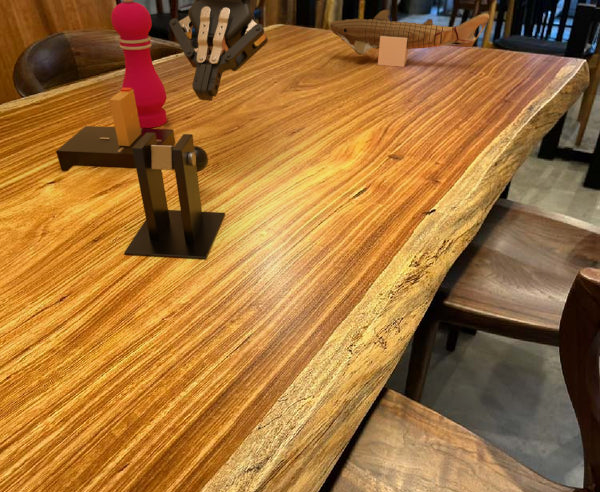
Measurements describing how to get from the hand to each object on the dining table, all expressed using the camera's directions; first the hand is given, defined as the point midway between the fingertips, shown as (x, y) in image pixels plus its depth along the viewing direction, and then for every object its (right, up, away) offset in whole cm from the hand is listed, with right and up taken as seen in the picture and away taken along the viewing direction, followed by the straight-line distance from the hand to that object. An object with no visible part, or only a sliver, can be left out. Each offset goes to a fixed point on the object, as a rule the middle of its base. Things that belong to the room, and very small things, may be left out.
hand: (203, 97), depth 66 cm
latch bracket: (-2, -18, -4) cm, 19 cm away
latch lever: (-2, -10, -4) cm, 11 cm away
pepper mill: (-14, +6, +27) cm, 32 cm away
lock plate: (-15, -4, +15) cm, 21 cm away
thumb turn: (-13, -1, +13) cm, 18 cm away
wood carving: (+36, +30, +60) cm, 76 cm away
